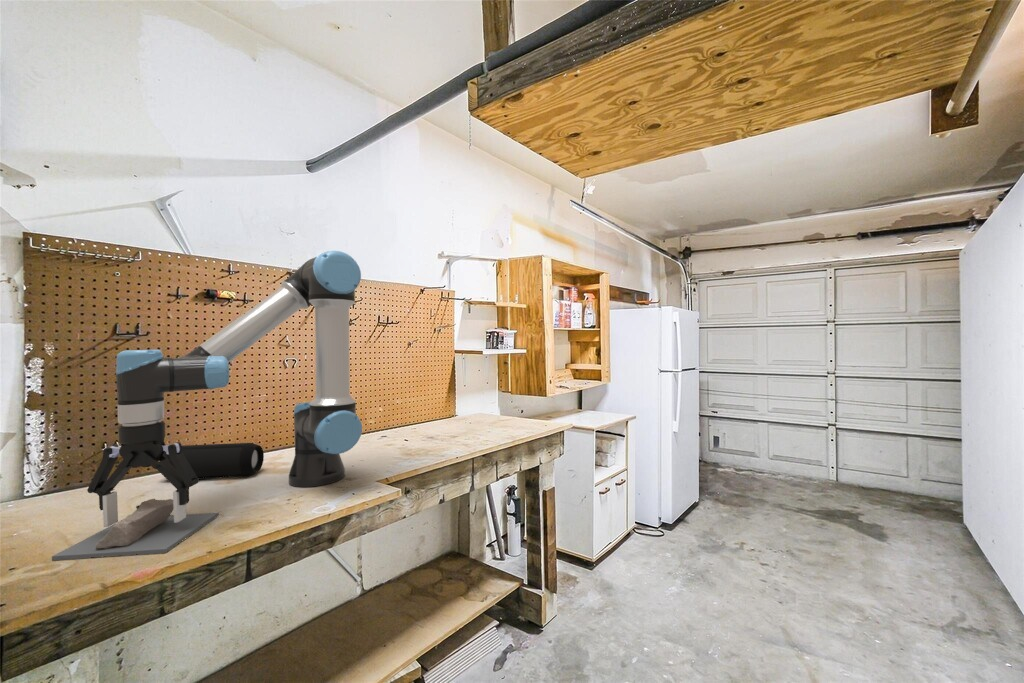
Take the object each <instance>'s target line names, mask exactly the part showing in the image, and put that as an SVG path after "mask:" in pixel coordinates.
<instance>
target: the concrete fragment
mask: <svg viewBox="0 0 1024 683" xmlns="http://www.w3.org/2000/svg"><path fill="white" fill-rule="evenodd" d="M135 508H136V509H135V510H134V512H132V513H131V514H128V515H127V516H126V517H125V518H123V519H121V520H122V521H121V520H118V522H116V524H115V523H114V524H115V525H114V526H113V527H112V529H111V530H110V532H109V533H108V534H107V535H106V536H105V537H104V538H103V539H102V540H100V542H99V543H97V544H96V546H95V548H104V549H107V548H111V547H113V546H128V545H130V544H131V543H133V542H135V541H137V540H138V539H139V538H141V537H142V535H143V534H145V533H147V531H150V530H151V529H152V528H155V527H156V526H158V525H159V524H162V523H164V522H166V521H167V520H168V517H169V516H170V515H172V514H173V512H174V507H173V498H172V499H171V498H169V499H156V498H151V499H147V500H144V501H141V502H140V504H139V505H136V507H135Z"/></svg>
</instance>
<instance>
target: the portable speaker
mask: <svg viewBox="0 0 1024 683" xmlns="http://www.w3.org/2000/svg"><path fill="white" fill-rule="evenodd" d="M182 452H183V454H184V455H185V457H186V459H187V460H188V462H189V464H190V466H191V467H192V469H193V471H194V472H195V474H196V476H197V477H198V478H202V479H216V478H217V479H220V477H222V478H238V477H239V478H241V476H242V477H249V476H252V475H254V474H257V473H258V472H260V470H261V469H262V467H263V464H264V458H265V457H264V455H265V454H264V449H263V448H262V446H261V445H259V444H256V443H253V442H237V443H236V442H233V443H214V444H210V443H208V444H188V445H187V444H185V445H182ZM164 455H165V456H166V457H167V458H168V459H169V462H170V463H171V464H172V465H173V466H174V464H173V463H172V461H171V459H170V457H169V455H168V454H166V451H165V453H164ZM174 467H175V466H174Z"/></svg>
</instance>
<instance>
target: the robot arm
mask: <svg viewBox="0 0 1024 683" xmlns="http://www.w3.org/2000/svg"><path fill="white" fill-rule="evenodd" d="M361 278H362V272H361V268H360V266H359V264H358V262H357V261H356V260H355V259H354V258H353V257H352V256H351V255H350V254H348V253H346V252H343V251H340V250H330V251H329V250H327V251H324V252H321V253H319V254H318V255H317V256H315V257H313V258H310V259H308V260H307V261H306V262H304V263H303V264H302V265H301V266H300V267H299V268H298V269H296V270H295V271H294V272H293V273H292V274H291V275H289V276H288V277H287V278H286V279H285V280H283V281H281V285H280V288H279V289H277V290H276V291H274V292H273V293H272V294H270V295H269V296H267V297H266V298H264V299H263V300H261V301H260V302H259V303H257V304H255V305H254V306H253V307H252V308H249V310H248V311H246V312H244V313H243V314H241V315H240V316H239V317H238V318H235V320H233V321H232V322H230V323H229V324H228V325H227V326H225V327H223V328H222V329H221V330H219V331H218V332H217V333H215V334H213V335H212V336H211V337H209V338H208V339H206V340H205V341H204V342H202V343H201V344H200V345H199V346H197V347H196V348H193V350H191V351H190V352H188V353H187V354H186V355H184V356H181V357H164V355H163V351H162V349H134V350H133V349H132V350H131V349H127V350H123V351H120V352H119V353H118V354H117V355H116V361H115V362H116V365H115V366H116V368H115V379H116V382H115V383H116V397H117V423H118V424H120V426H119V427H118V428H117V430H118V443H119V444H120V446H119V445H116V444H115V445H112V446H108V447H106V448H103V450H102V458H101V461H100V463H99V465H98V467H97V469H96V471H95V473H94V475H93V477H92V480H91V482H90V484H89V486H88V488H87V493H88V494H96V495H97V496H98V502H99V503H98V504H99V509H100V511H102V516H103V517H102V520H103V528H108V527H110V526H112V525H113V524H115V523H117V522H119V513H118V512H119V511H118V508H119V507H118V491H117V490H116V491H115V488H116V486H117V485H118V484H119V483H120V482H121V480H122V479H123V478H124V477H125V476H127V475H126V474H127V473H128V472H130V470H131V469H135V468H139V467H140V468H149V467H151V468H152V469H154V470H157V471H158V472H159V473H160V474H161V475H162V476H163V477H164V478H165V479H166V480H167V481H168V482H169V483H170V484H171V485H172V486H173V487H174V488H175V489H176V490H174V491H172V500H173V507H174V510H173V515H174V523H176V522H179V521H181V520H182V519H184V518H186V514H187V506H186V505H187V504H189V502H190V488H191V487H193V486H195V485H197V484H199V482H200V480H199V479H198V477H197V476H196V474H195V472H194V471H193V469H192V467H191V466H190V464H189V462H188V460H187V459H186V457H185V455H184V454H183V452H182V446H183V445H182V443H181V442H180V441H178V442H175V443H172V444H166V443H165V437H166V422H164V420H163V419H164V418H165V395H164V394H165V393H172V392H185V391H198V390H201V391H202V390H214V389H219V388H225V387H227V386H228V385H229V382H230V365H229V363H230V362H232V361H233V360H234V359H235V358H237V357H238V356H239V355H241V354H242V353H243V352H245V351H246V350H247V349H248V348H250V347H252V345H254V344H255V343H257V342H258V341H260V340H261V339H262V338H264V337H265V336H266V335H267V334H269V333H270V332H272V331H273V330H274V329H275V328H277V327H278V326H279V325H281V324H283V322H285V321H286V320H287V319H288V318H290V317H292V316H293V315H294V314H296V313H297V312H298V311H300V310H301V309H302V310H306V309H308V308H309V307H311V306H313V307H314V316H315V317H314V326H315V328H314V333H315V335H314V336H315V337H314V338H315V341H314V343H315V348H314V350H315V357H314V358H315V362H314V363H315V397H314V398H313V399H312V400H311V401H307V402H300V403H296V404H295V405H294V409H293V410H294V411H293V422H294V423H293V426H294V429H293V430H294V457H293V461H292V463H291V464H292V465H291V468H290V470H289V472H288V473H289V474H288V484H289V485H290V486H293V487H298V488H308V487H309V488H311V487H318V486H323V485H324V486H325V485H330V484H333V483H335V482H338V481H340V480H343V478H344V477H345V476H346V468H345V465H344V462H343V460H342V457H341V454H344V453H346V452H348V451H350V450H351V449H353V448H354V447H355V446H356V445H357V444H358V442H359V440H360V439H361V437H362V432H363V425H362V421H361V419H360V417H359V416H358V415H357V414H356V413H357V412H356V409H357V406H356V402H357V401H356V400H355V398H353V397H352V396H351V394H350V392H351V391H350V390H351V389H350V388H351V387H350V376H351V375H350V309H351V307H352V306H353V305H354V304H355V303H356V300H355V299H356V289H357V288H358V286H359V285H360V282H361V280H362V279H361ZM165 452H166V454H168V455H169V457H170V459H171V461H172V463H173V464H174V466H175V467H174V466H173V465H172V464H171V463H170V462H169V459H168V458H167V457H166V456H165V455H164V453H165ZM119 456H120V457H121V458H122V460H121V461H120V462H119V463H118V465H117V466H116V469H115V470H114V471H113V472H112V470H113V469H114V466H115V464H116V462H117V460H118V457H119ZM111 472H112V473H111Z"/></svg>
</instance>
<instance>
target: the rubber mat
mask: <svg viewBox="0 0 1024 683" xmlns="http://www.w3.org/2000/svg"><path fill="white" fill-rule="evenodd" d="M218 515H219V516H220V512H202V513H186V518H184V519H182V520H181V521H179V522H176V523H174V514H170V516H169V517H168V520H167V521H166V522H164V523H162V524H159V525H158V526H156V527H155V528H152V529H151V530H150V531H147V533H145V534H143V535H142V537H141V538H139V539H138V540H137V541H135V542H133V543H131V544H130V545H128V546H113V547H111V548H107V549H104V548H95V546H96V544H97V543H99V542H100V540H102V539H103V538H104V537H105V536H106V535H107V534H108V533H109V532H110V530H111V529H112V527H113V526H114V525H115V524H116V523H117V522H116V523H114V524H113V525H111V526H109V527H105V528H104V529H102V530H100V531H98V532H97V533H95V534H92V535H90V536H88V537H86V538H85V539H82V540H81V541H79V542H76V543H74V544H73V545H71V546H69V547H67V548H65V549H64V550H61V551H59V552H58V553H56V554H54V555H52V556H51V561H52V562H53V561H65V560H66V561H68V560H69V561H70V560H80V559H84V560H85V559H92V558H91V557H100V558H103V557H102V556H115V557H119V556H118V555H130V556H142V555H143V554H145V555H156V554H157V555H159V554H160V553H161V554H167V553H168V552H170V551H171V550H172V549H174V548H175V547H176V545H177V544H178V543H180V542H181V541H182V540H184V539H185V538H187V537H188V538H190V537H191V536H192V535H193V533H194V532H195V533H197V532H198V531H200V530H201V529H202V528H204V527H205V526H207V525H208V524H209V523H211V522H212V521H214V520H215V519H216V518H215V517H217V516H218ZM219 516H218V517H219ZM218 517H217V518H218ZM214 518H215V519H214ZM213 519H214V520H213ZM122 520H123V519H121V520H120V521H122ZM211 520H212V521H211ZM210 521H211V522H210ZM207 523H208V524H207ZM206 524H207V525H206ZM204 525H205V526H204ZM203 526H204V527H203ZM201 527H202V528H201ZM200 528H201V529H200ZM197 530H198V531H197ZM196 531H197V532H196ZM195 533H194V534H195ZM191 534H192V535H191ZM190 535H191V536H190ZM189 536H190V537H189ZM188 538H187V539H188ZM185 540H186V539H185ZM185 540H184V541H185ZM182 542H183V541H182ZM182 542H181V543H182ZM181 543H180V544H181ZM178 545H179V544H178ZM178 545H177V546H178ZM174 546H175V547H174ZM173 547H174V548H173ZM170 549H171V550H170ZM169 550H170V551H169ZM167 551H168V552H167ZM166 552H167V553H166ZM136 554H138V555H136ZM139 554H141V555H139ZM143 556H144V555H143Z"/></svg>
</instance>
